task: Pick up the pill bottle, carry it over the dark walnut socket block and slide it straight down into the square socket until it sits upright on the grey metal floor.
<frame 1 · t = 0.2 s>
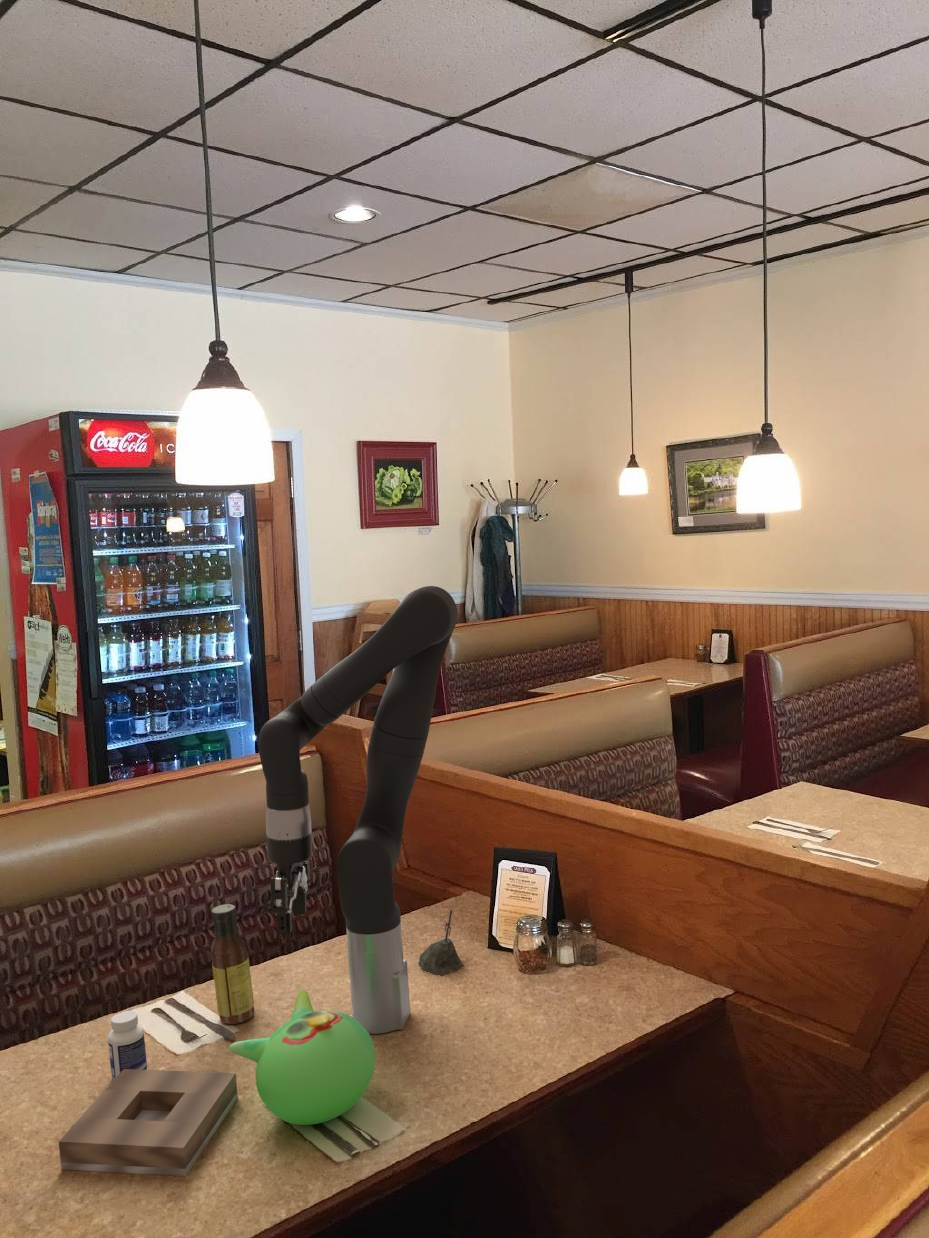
hand: (292, 923, 174), 17 cm above the table, tool pointing down, fingers open, 8 cm apart
toy bird: (317, 1110, 149), on the table
sword in stone: (439, 966, 194), on the table
socket block: (154, 1131, 146), on the table
pill bottle: (130, 1076, 161), on the table
sauce bottle: (236, 1018, 178), on the table
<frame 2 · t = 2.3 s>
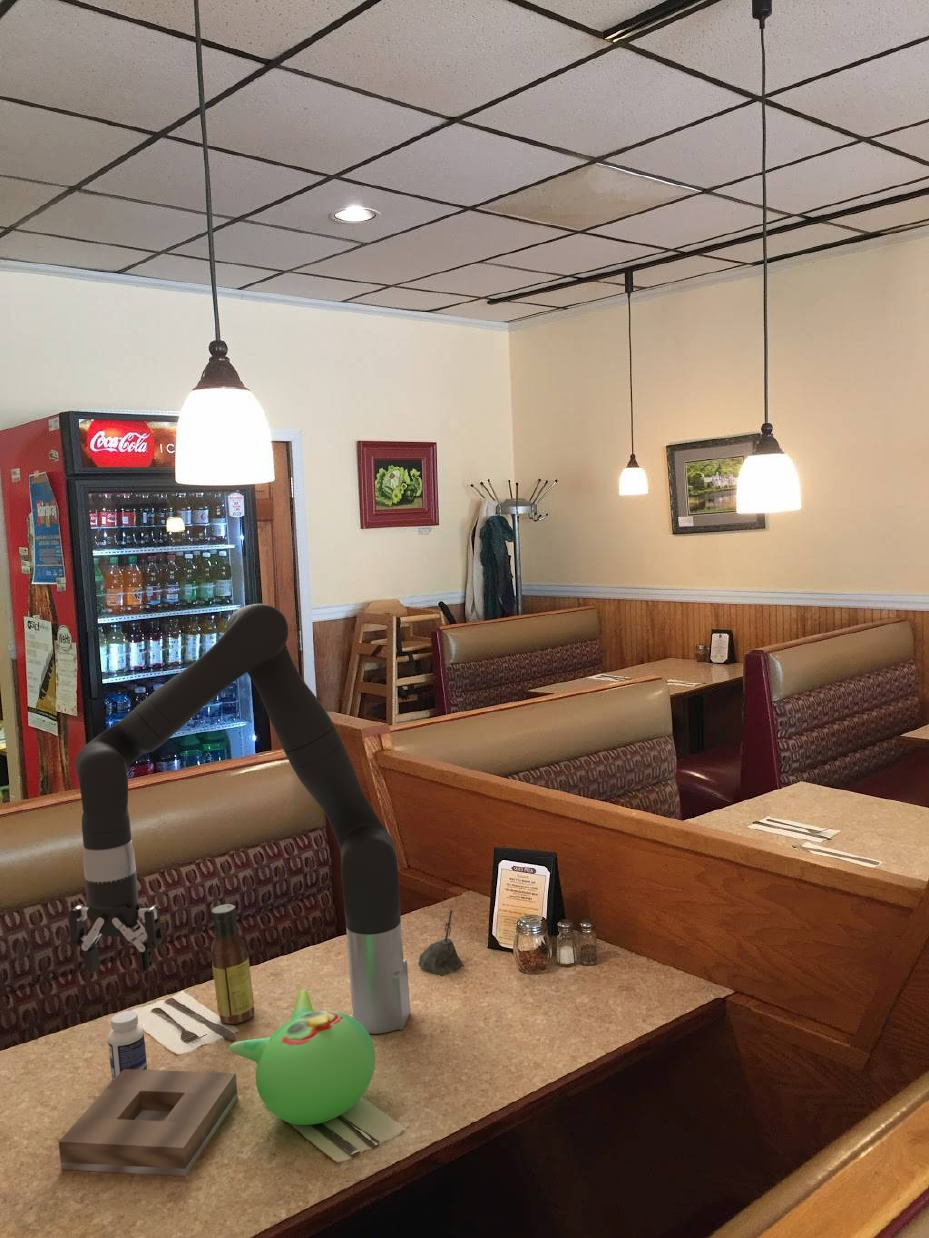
hand: (119, 971, 159), 17 cm above the table, tool pointing down, fingers open, 8 cm apart
nothing on the table moved.
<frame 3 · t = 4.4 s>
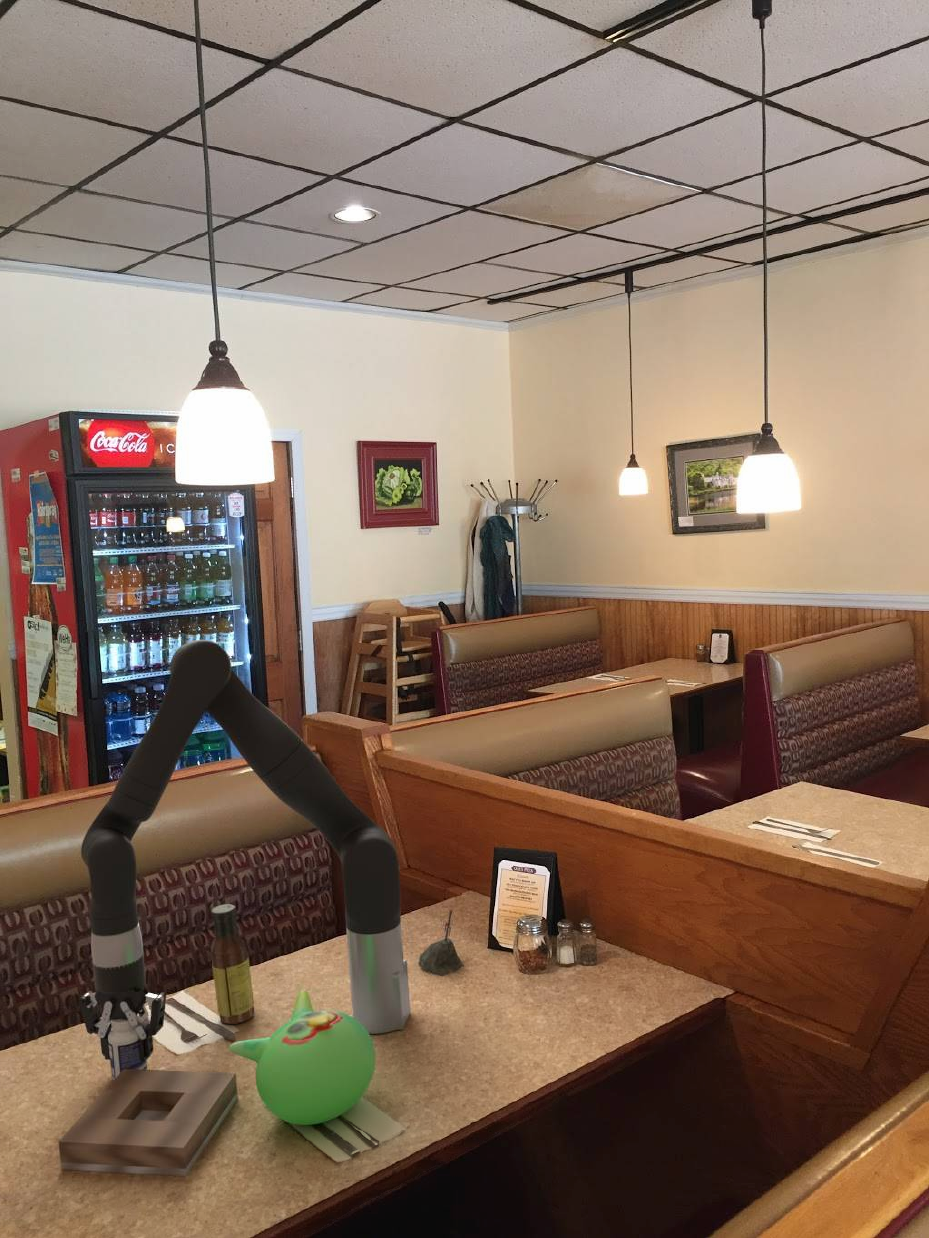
hand: (128, 1057, 161), 3 cm above the table, tool pointing down, fingers closed on pill bottle, 5 cm apart
pill bottle: (130, 1076, 161), on the table, touching gripper
everything else where it was.
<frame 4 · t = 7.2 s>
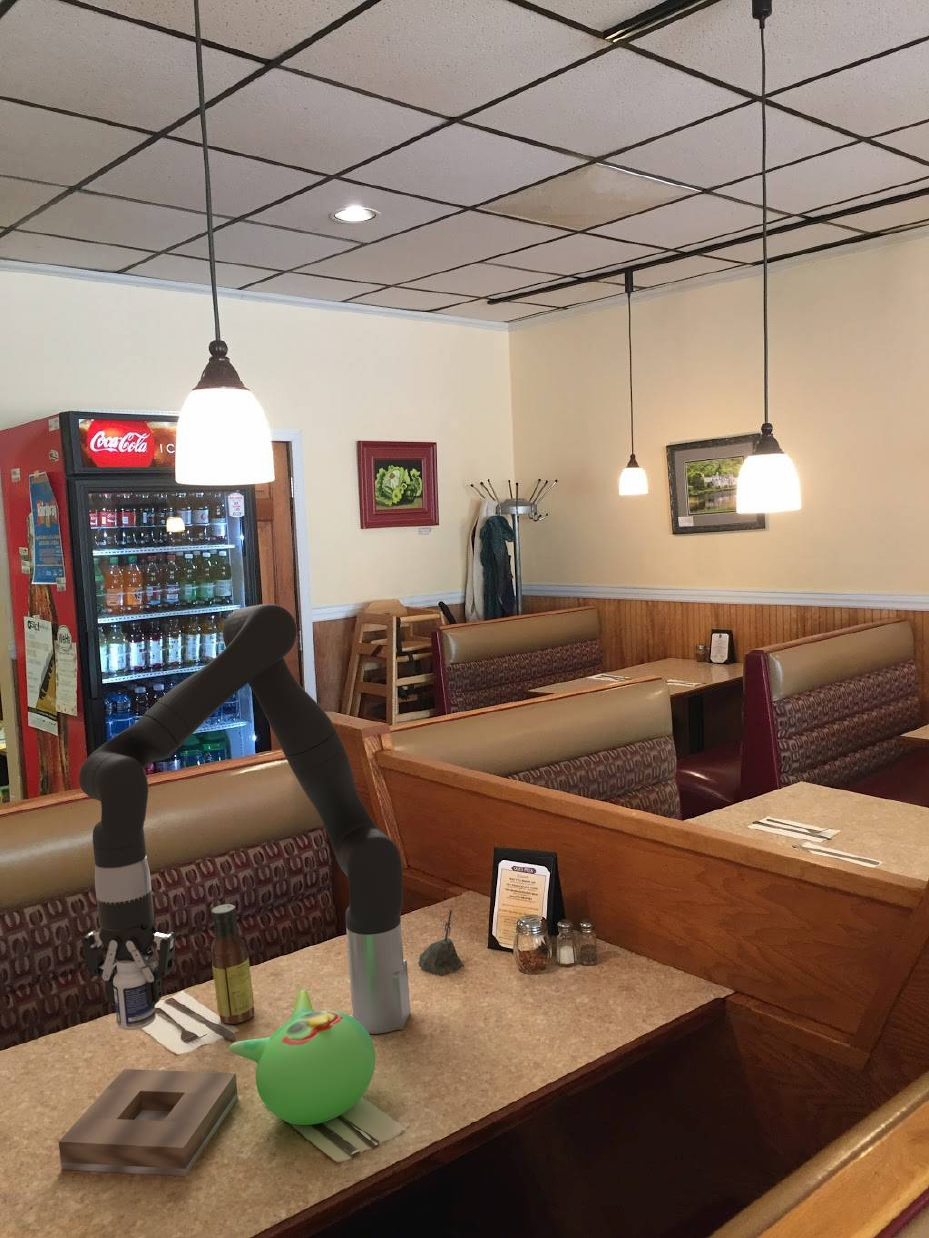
hand: (134, 1002, 148), 17 cm above the table, tool pointing down, fingers closed on pill bottle, 5 cm apart
pill bottle: (137, 1023, 148), point 14 cm above the table, touching gripper
everything else where it was.
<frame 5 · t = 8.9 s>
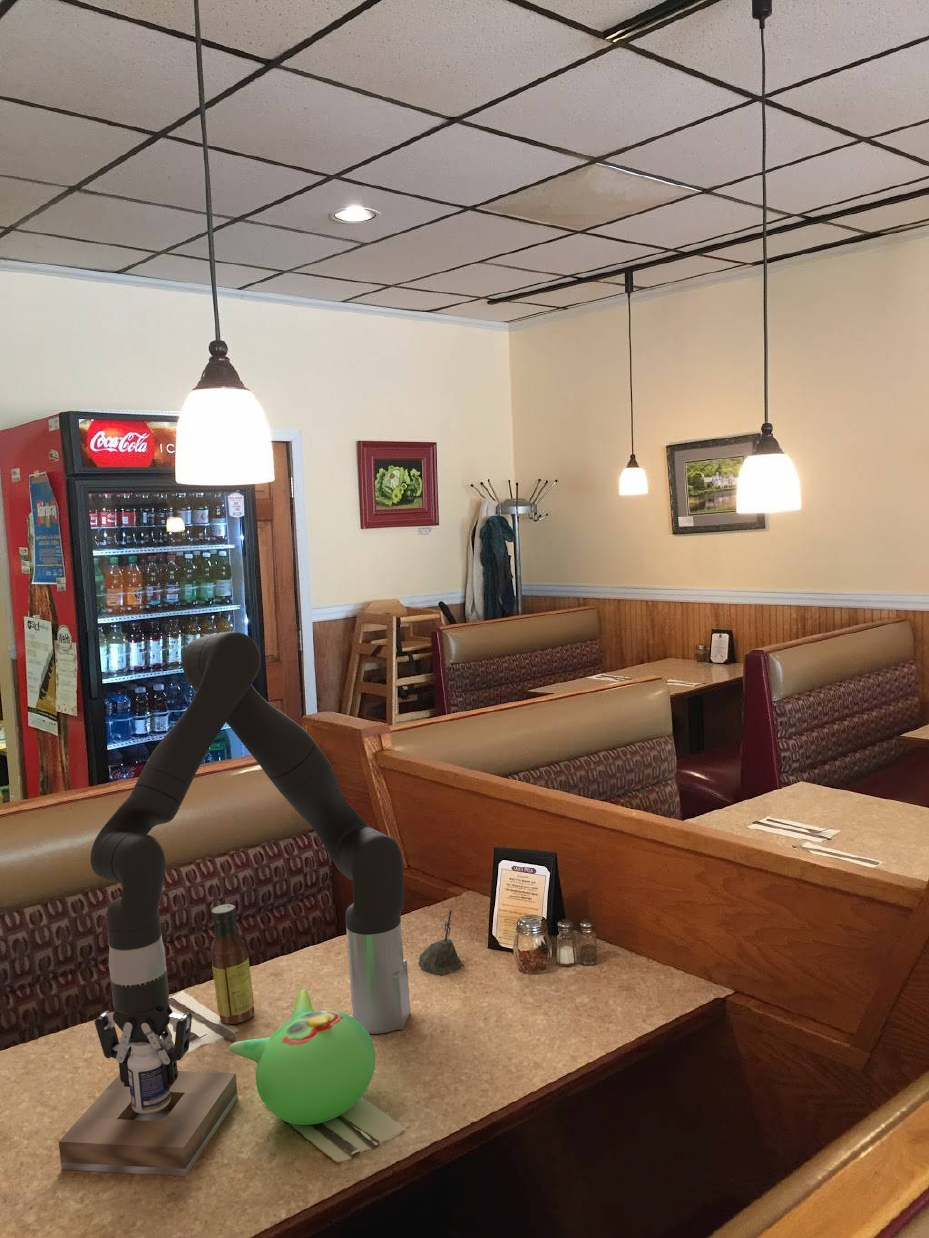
hand: (149, 1083, 145), 7 cm above the table, tool pointing down, fingers closed on pill bottle, 5 cm apart
pill bottle: (151, 1105, 145), point 4 cm above the table, touching gripper
everything else where it was.
when the fingers open (5 cm above the table, at t = 10.1 s): pill bottle drops 1 cm, resting on socket block.
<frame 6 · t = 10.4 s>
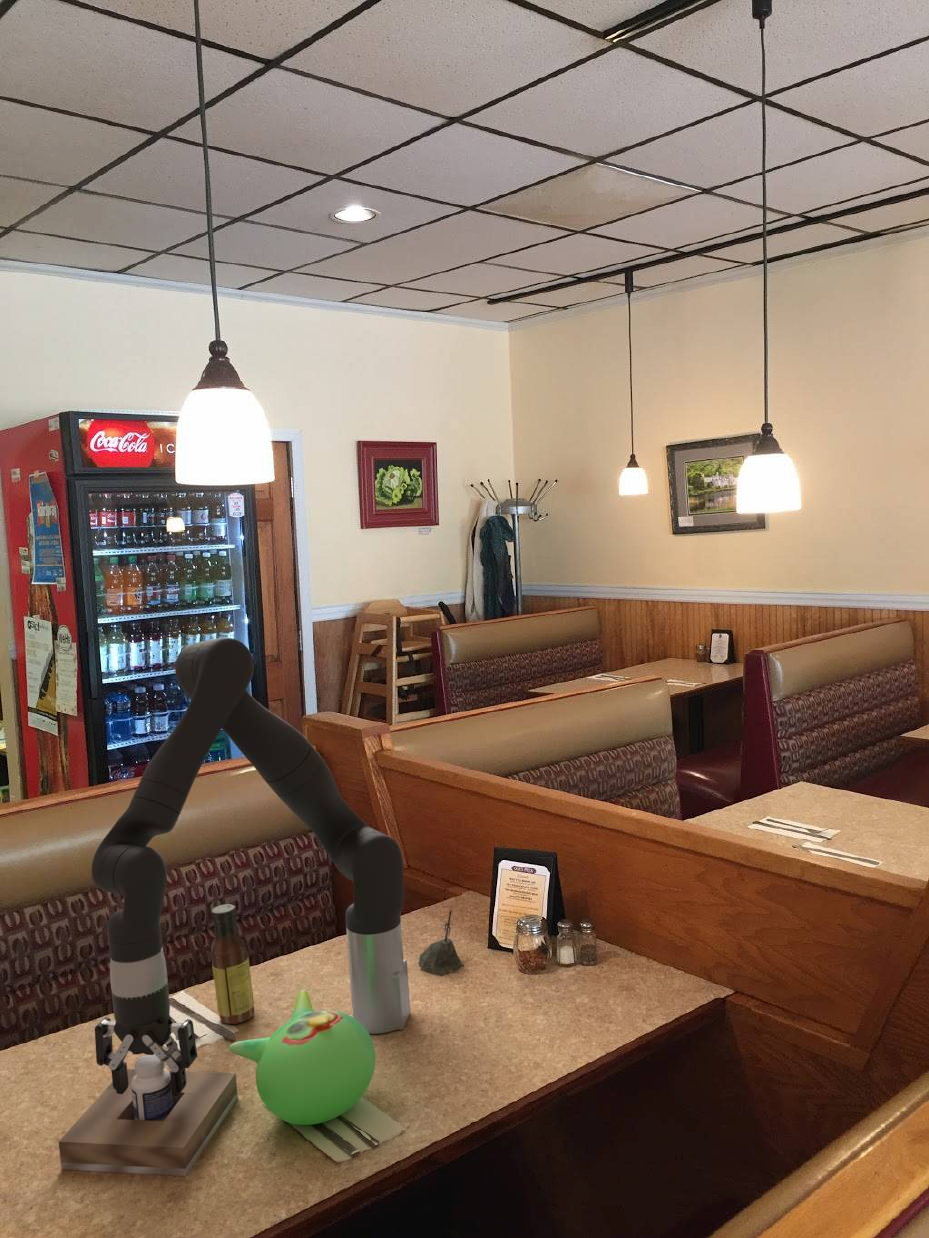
hand: (150, 1091, 145), 6 cm above the table, tool pointing down, fingers open, 8 cm apart
pill bottle: (155, 1126, 146), point 1 cm above the table, touching socket block
everything else where it was.
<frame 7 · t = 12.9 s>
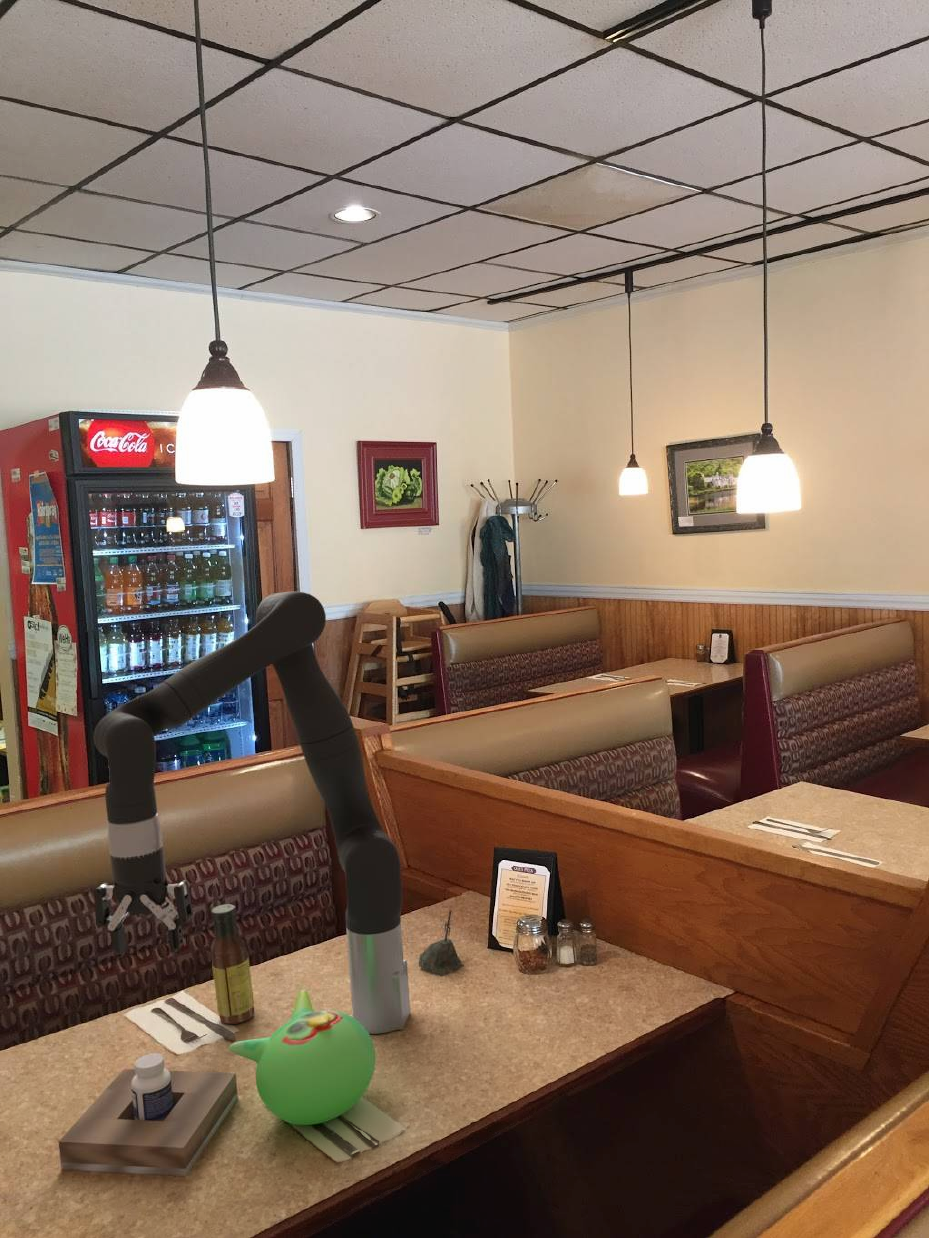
hand: (148, 951, 153), 23 cm above the table, tool pointing down, fingers open, 8 cm apart
nothing on the table moved.
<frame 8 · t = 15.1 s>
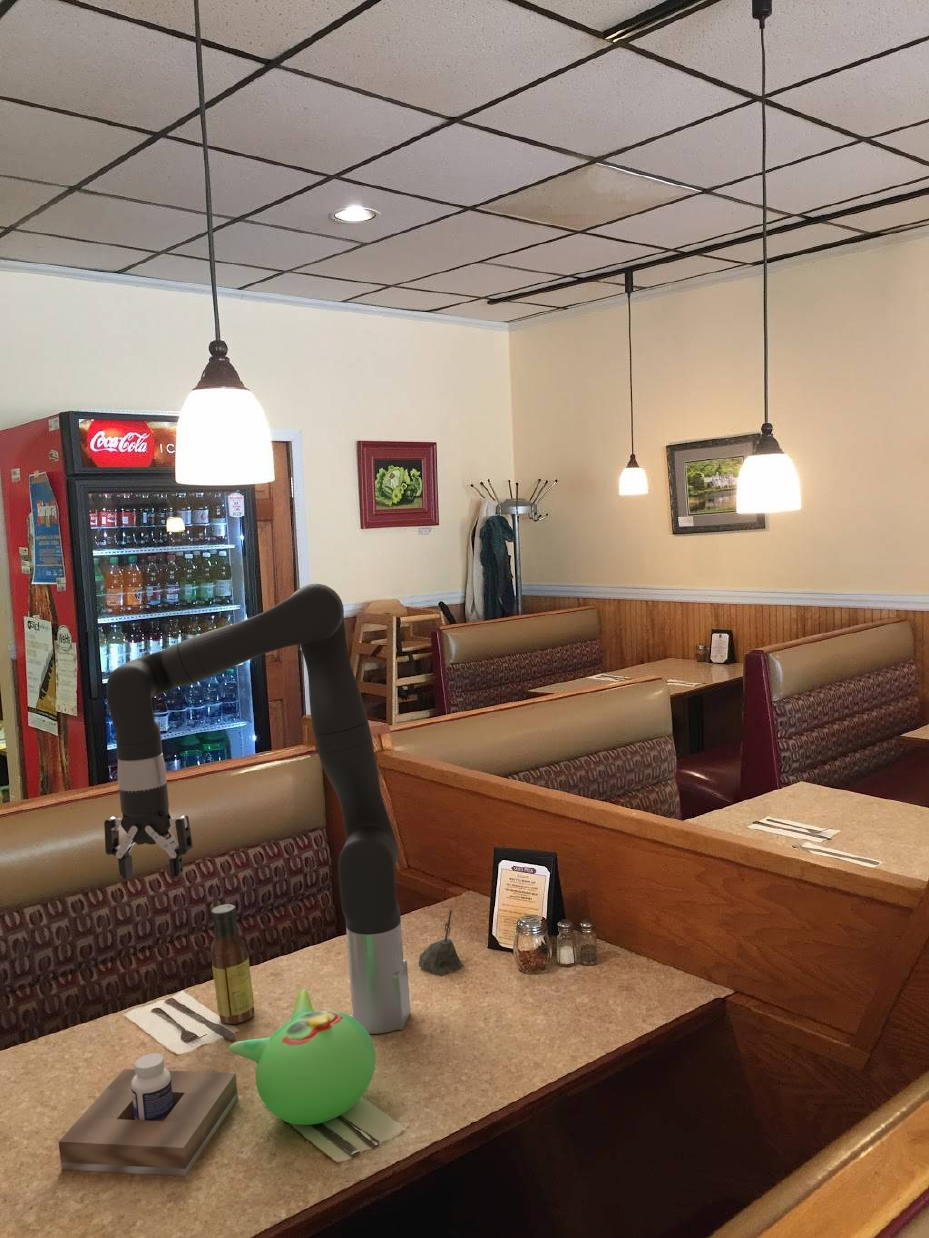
hand: (151, 878, 169), 28 cm above the table, tool pointing down, fingers open, 8 cm apart
nothing on the table moved.
at the end: pill bottle 0.3 cm off-centre on the socket block, point 0.8 cm above the socket block's base; pill bottle tilted 0°; the gripper is holding nothing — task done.
